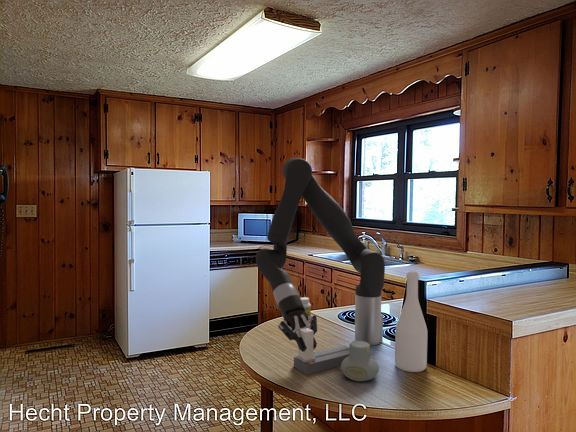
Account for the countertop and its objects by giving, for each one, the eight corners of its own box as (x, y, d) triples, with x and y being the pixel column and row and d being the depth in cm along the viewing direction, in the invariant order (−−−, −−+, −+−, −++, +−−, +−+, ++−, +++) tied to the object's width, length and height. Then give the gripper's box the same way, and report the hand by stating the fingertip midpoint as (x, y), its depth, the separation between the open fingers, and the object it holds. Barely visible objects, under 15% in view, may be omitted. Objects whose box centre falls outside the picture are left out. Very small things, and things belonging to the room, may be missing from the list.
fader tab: (306, 354, 136) (306, 326, 136) (315, 360, 132) (315, 331, 131) (295, 357, 134) (295, 328, 134) (304, 362, 130) (304, 333, 129)
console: (344, 353, 146) (344, 344, 145) (357, 361, 140) (358, 351, 140) (293, 366, 135) (293, 356, 135) (306, 374, 129) (306, 364, 129)
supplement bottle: (305, 318, 185) (306, 296, 185) (313, 321, 181) (313, 298, 180) (295, 320, 183) (295, 297, 182) (302, 323, 178) (303, 300, 177)
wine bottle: (427, 363, 138) (429, 269, 136) (425, 375, 129) (428, 275, 127) (396, 359, 141) (398, 267, 140) (393, 370, 133) (395, 273, 131)
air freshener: (380, 375, 129) (381, 342, 129) (374, 386, 122) (375, 351, 121) (345, 368, 134) (345, 337, 133) (337, 379, 126) (337, 346, 126)
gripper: (273, 296, 134) (294, 347, 125) (310, 291, 142) (333, 339, 132) (265, 309, 139) (285, 359, 130) (301, 303, 147) (323, 350, 137)
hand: (309, 348), depth 131 cm, fingers closed on fader tab, 3 cm apart
